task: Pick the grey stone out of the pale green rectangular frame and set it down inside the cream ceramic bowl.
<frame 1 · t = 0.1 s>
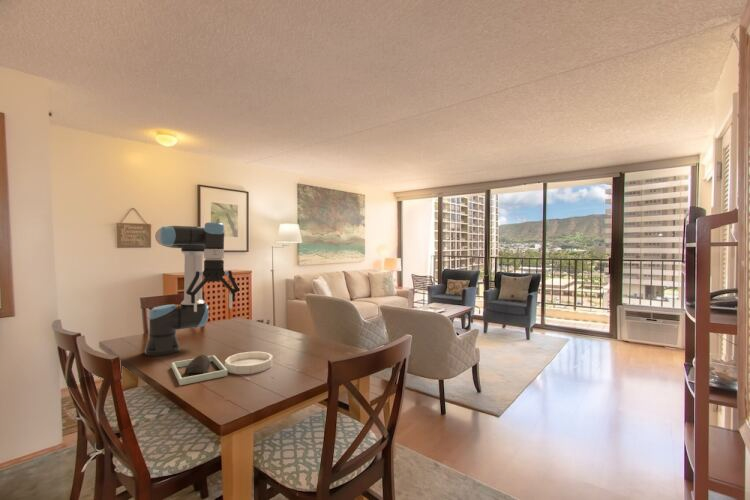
hand: (213, 309, 144), 28 cm above the table, fingers open, 13 cm apart
bowl: (249, 365, 157), on the table
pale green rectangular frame: (198, 371, 148), on the table
stone: (198, 372, 148), on the table
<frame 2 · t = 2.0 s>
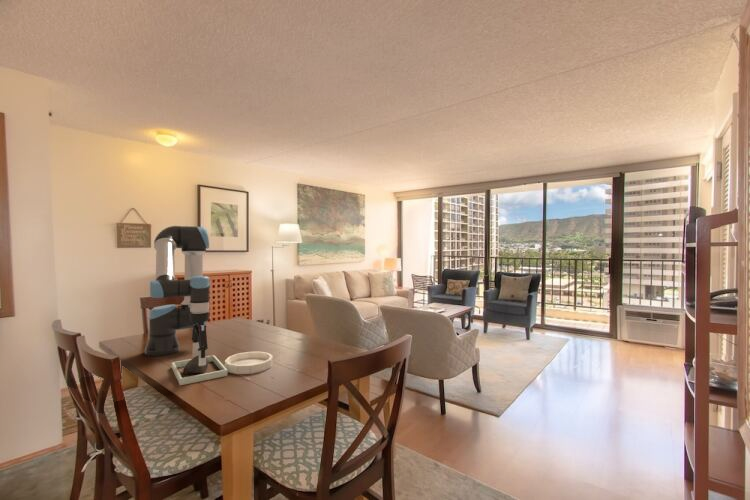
hand: (199, 361, 148), 5 cm above the table, fingers open, 13 cm apart
nothing on the table moved.
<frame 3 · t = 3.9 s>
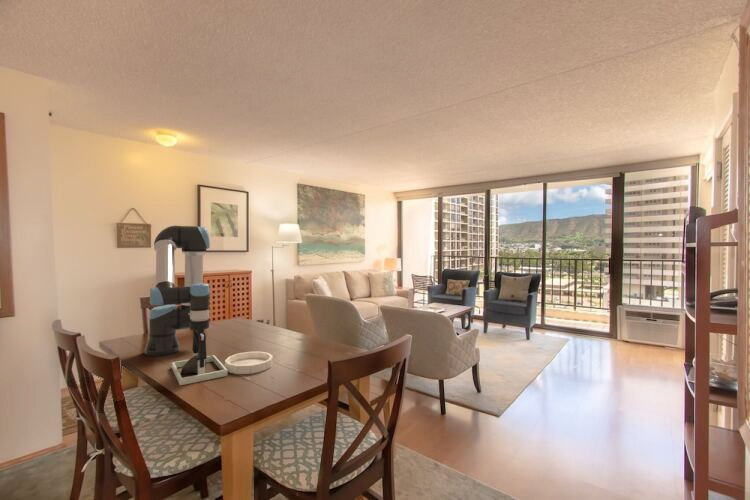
hand: (198, 371, 148), 0 cm above the table, fingers closed on stone, 9 cm apart
stone: (194, 372, 148), on the table, touching gripper
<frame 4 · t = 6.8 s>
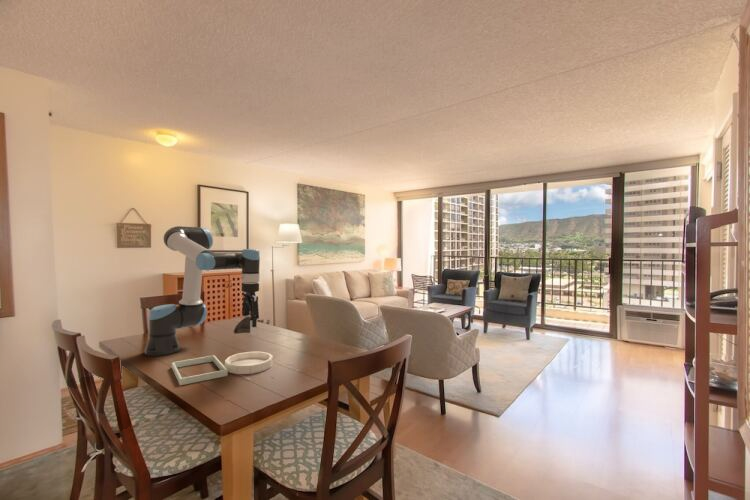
hand: (249, 331, 157), 16 cm above the table, fingers closed on stone, 9 cm apart
stone: (245, 333, 156), point 15 cm above the table, touching gripper
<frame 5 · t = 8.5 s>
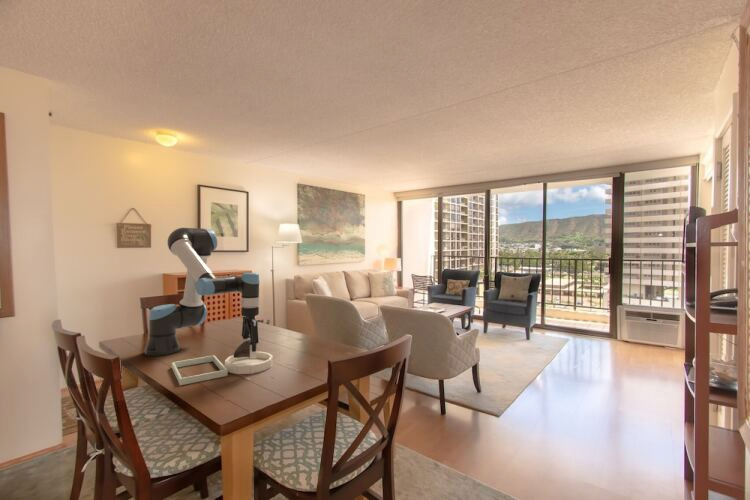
hand: (249, 355, 157), 5 cm above the table, fingers closed on stone, 9 cm apart
stone: (245, 356, 156), point 4 cm above the table, touching gripper
when the fingers open (4 cm above the table, at t = 9.6 s): stone drops 3 cm, resting on bowl.
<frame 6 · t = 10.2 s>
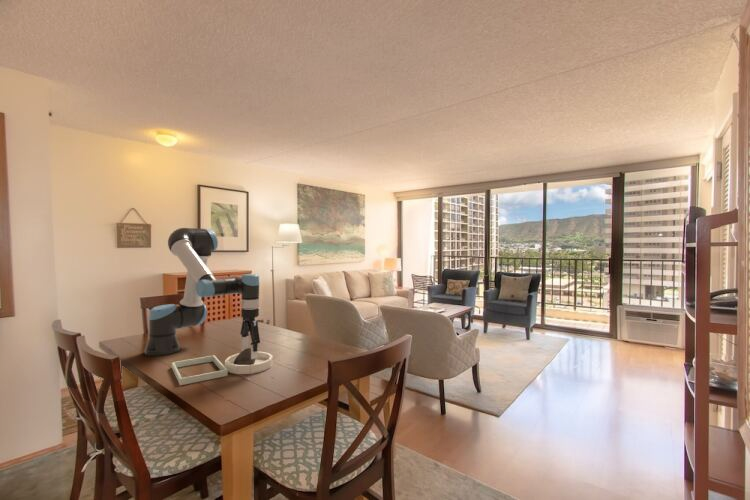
hand: (249, 354, 157), 5 cm above the table, fingers open, 13 cm apart
stone: (245, 364, 156), point 1 cm above the table, touching bowl
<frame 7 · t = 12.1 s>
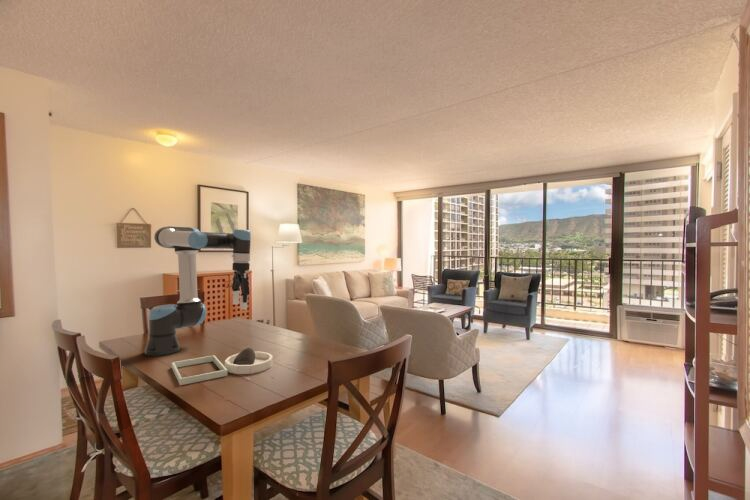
hand: (239, 306, 163), 26 cm above the table, fingers open, 13 cm apart
nothing on the table moved.
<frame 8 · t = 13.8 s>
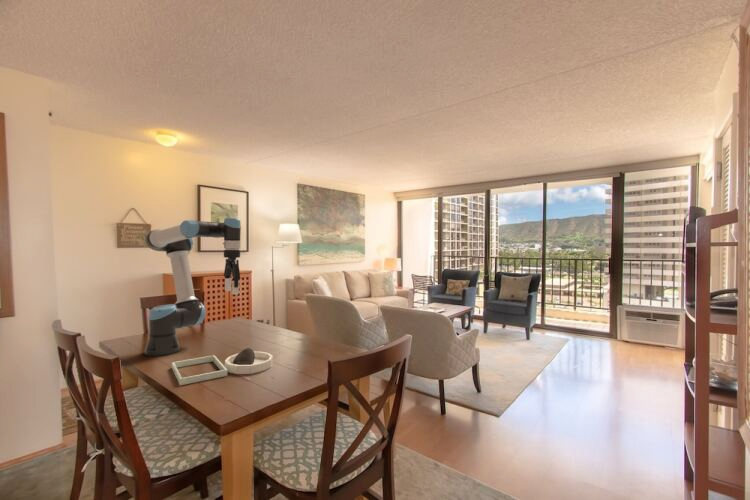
hand: (231, 292, 169), 32 cm above the table, fingers open, 13 cm apart
nothing on the table moved.
at the end: stone 2.1 cm from the bowl (horizontally); stone point 0.6 cm above the table; the gripper is holding nothing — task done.
